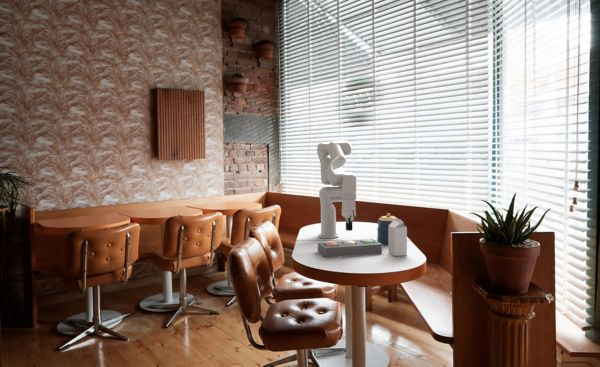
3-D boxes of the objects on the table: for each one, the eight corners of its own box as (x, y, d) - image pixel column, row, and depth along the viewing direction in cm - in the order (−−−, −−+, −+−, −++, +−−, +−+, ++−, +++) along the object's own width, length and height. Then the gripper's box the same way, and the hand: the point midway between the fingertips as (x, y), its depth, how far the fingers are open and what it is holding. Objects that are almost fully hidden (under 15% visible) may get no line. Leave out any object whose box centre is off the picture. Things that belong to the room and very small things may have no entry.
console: (317, 251, 231) (317, 242, 230) (372, 247, 238) (372, 238, 238) (324, 257, 218) (324, 248, 218) (382, 253, 226) (382, 244, 225)
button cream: (342, 245, 230) (342, 240, 230) (352, 245, 232) (352, 240, 231) (346, 248, 224) (346, 243, 224) (356, 247, 226) (356, 242, 226)
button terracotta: (324, 247, 228) (324, 242, 228) (334, 246, 229) (334, 241, 229) (327, 249, 222) (327, 244, 222) (338, 248, 223) (338, 243, 223)
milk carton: (394, 256, 219) (394, 220, 217) (388, 253, 226) (388, 218, 224) (406, 255, 221) (407, 219, 219) (400, 252, 228) (400, 217, 226)
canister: (399, 245, 243) (400, 215, 241) (376, 244, 245) (377, 214, 244) (399, 240, 255) (399, 211, 254) (377, 239, 258) (377, 211, 256)
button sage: (360, 244, 233) (360, 239, 232) (370, 243, 234) (370, 238, 234) (364, 246, 227) (364, 242, 227) (375, 246, 228) (375, 241, 228)
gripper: (338, 195, 232) (338, 227, 234) (347, 198, 218) (347, 233, 220) (350, 194, 234) (350, 227, 236) (360, 198, 220) (360, 232, 222)
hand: (349, 230), depth 228 cm, fingers closed
